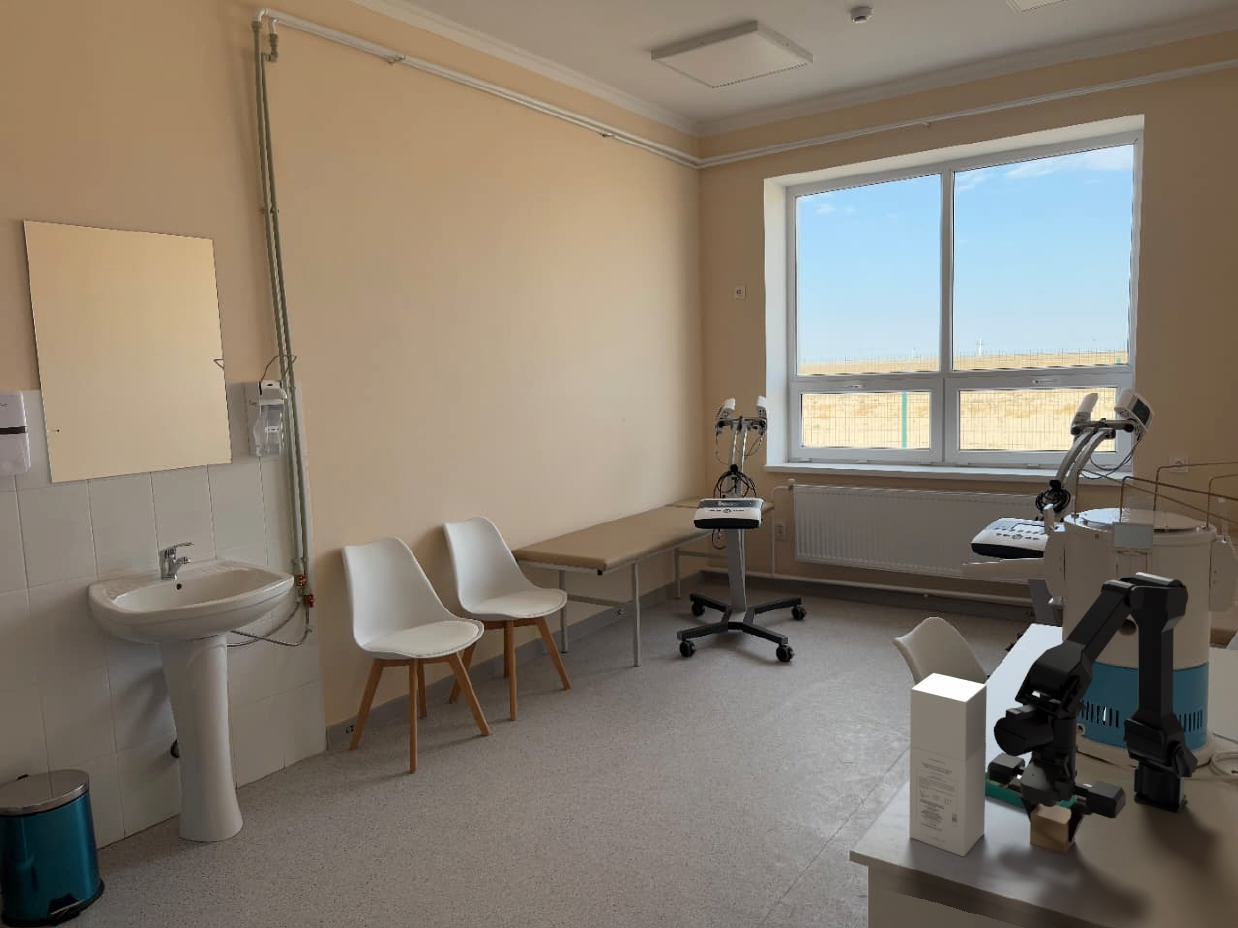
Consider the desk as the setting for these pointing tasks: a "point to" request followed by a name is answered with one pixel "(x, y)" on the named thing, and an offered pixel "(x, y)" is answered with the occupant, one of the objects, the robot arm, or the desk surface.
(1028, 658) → the desk surface
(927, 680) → the tall white carton
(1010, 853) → the desk surface
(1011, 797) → the digital multimeter
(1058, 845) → the walnut cube
